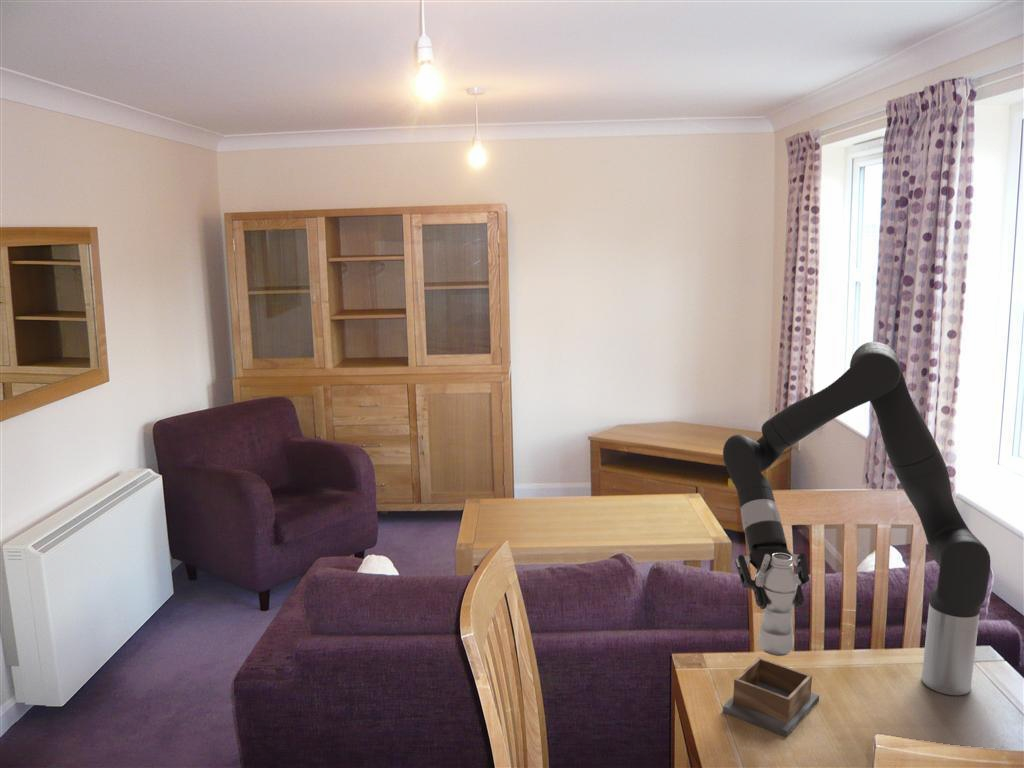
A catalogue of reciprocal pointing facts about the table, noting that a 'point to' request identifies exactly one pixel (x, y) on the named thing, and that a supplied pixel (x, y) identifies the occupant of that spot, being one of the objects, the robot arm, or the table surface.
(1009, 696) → the table surface
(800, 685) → the bottle holder
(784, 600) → the metal bottle
